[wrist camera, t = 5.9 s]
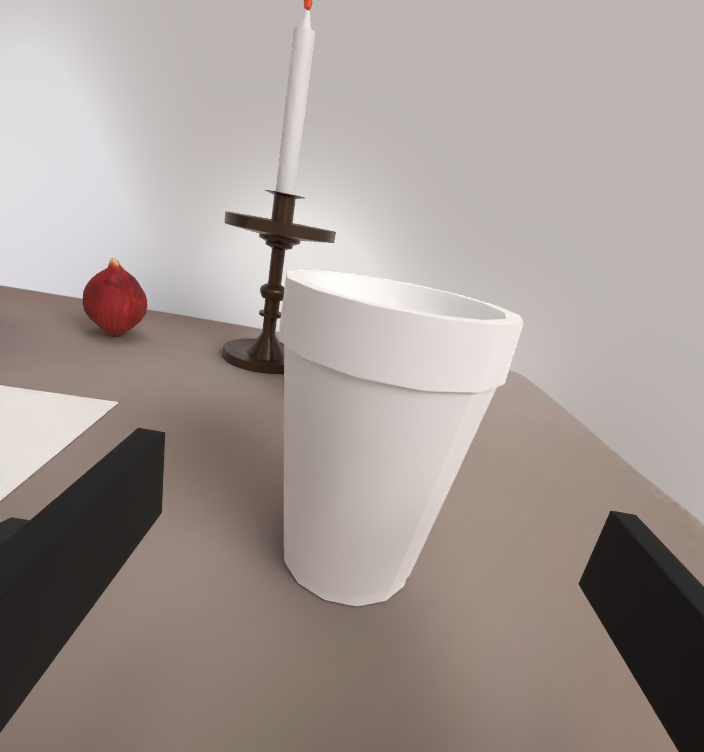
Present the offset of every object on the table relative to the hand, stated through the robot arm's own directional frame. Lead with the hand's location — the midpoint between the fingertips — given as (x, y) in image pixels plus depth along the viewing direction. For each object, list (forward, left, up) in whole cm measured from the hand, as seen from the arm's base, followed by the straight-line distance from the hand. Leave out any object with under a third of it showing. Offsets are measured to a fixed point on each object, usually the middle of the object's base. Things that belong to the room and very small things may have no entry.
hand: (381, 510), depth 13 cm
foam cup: (-5, +4, -8) cm, 10 cm away
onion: (-42, +1, -8) cm, 43 cm away
